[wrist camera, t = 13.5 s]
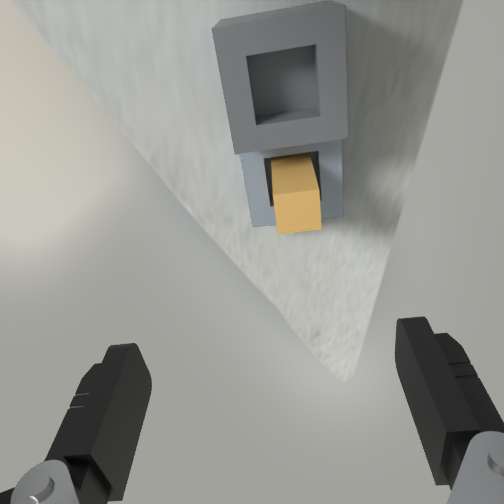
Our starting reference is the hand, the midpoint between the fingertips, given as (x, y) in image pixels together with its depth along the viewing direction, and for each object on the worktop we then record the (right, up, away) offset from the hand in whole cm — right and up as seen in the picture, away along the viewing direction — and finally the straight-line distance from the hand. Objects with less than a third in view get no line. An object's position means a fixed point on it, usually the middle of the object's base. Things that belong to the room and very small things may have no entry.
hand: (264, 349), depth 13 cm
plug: (+4, +12, +32) cm, 34 cm away
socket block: (+3, +17, +30) cm, 34 cm away
